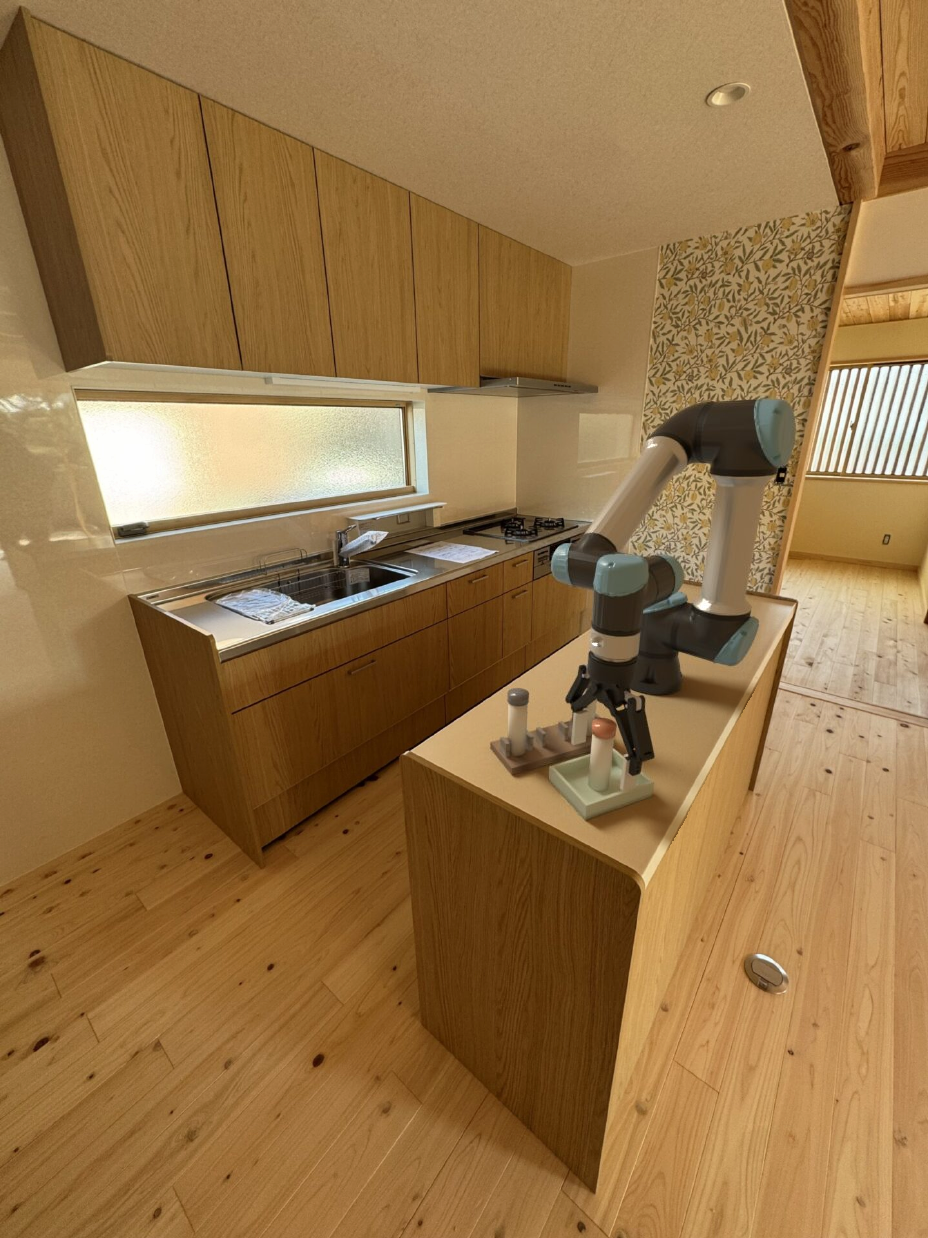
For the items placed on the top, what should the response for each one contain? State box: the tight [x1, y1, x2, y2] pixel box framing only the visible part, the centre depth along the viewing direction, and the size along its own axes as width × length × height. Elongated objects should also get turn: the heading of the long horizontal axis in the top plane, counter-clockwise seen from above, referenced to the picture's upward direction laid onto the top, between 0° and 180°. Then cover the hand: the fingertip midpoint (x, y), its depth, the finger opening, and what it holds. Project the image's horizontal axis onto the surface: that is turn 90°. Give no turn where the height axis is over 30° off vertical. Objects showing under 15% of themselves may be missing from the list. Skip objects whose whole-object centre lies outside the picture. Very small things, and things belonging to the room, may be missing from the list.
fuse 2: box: [583, 681, 598, 736], centre depth 100 cm, size 4×4×13 cm
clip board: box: [489, 713, 602, 776], centre depth 99 cm, size 23×9×4 cm, turn 113°
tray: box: [548, 747, 655, 821], centre depth 88 cm, size 14×11×3 cm
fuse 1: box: [506, 687, 530, 756], centre depth 94 cm, size 4×4×13 cm
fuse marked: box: [588, 717, 618, 792], centre depth 86 cm, size 4×4×13 cm
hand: (601, 763), depth 87 cm, fingers open, 13 cm apart
